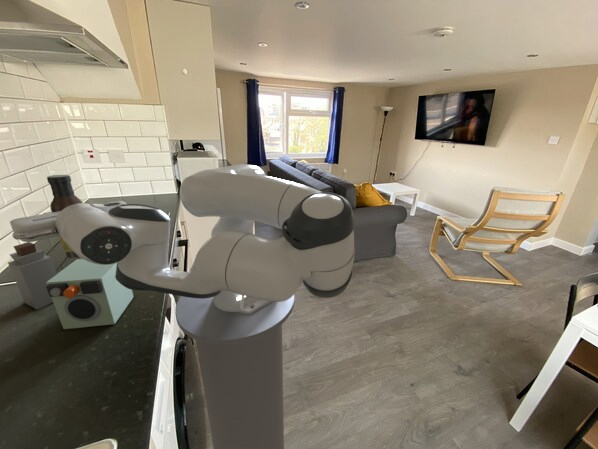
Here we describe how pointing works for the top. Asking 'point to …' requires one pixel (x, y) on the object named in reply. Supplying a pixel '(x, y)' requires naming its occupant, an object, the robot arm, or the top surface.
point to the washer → (89, 295)
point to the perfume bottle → (32, 274)
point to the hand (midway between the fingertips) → (69, 211)
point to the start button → (71, 291)
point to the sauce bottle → (63, 201)
